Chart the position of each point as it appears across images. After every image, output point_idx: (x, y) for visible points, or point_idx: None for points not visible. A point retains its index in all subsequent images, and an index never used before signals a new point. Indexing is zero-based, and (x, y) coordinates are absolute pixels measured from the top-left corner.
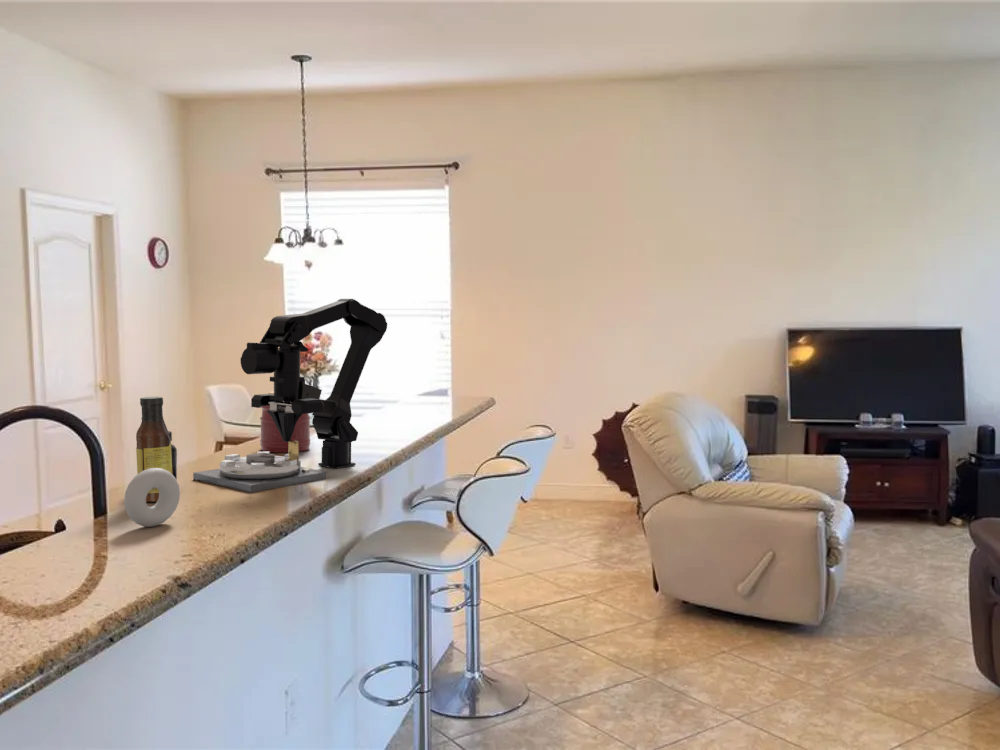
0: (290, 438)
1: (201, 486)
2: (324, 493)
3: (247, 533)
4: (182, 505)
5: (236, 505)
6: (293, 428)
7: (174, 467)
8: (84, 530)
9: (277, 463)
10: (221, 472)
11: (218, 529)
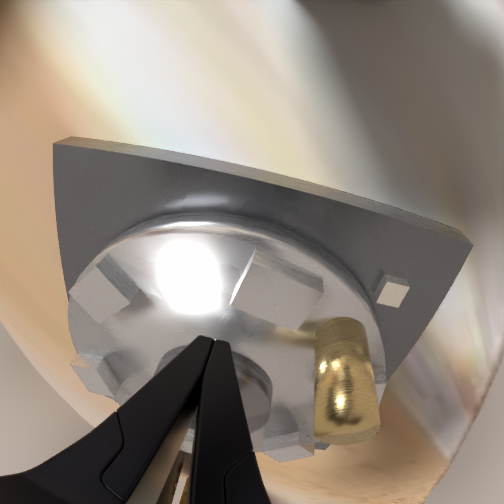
0: (232, 360)
1: None
2: (489, 380)
3: (424, 492)
4: (277, 482)
5: (356, 471)
6: (250, 445)
7: (170, 485)
8: None
9: (295, 384)
10: None
11: (390, 497)
